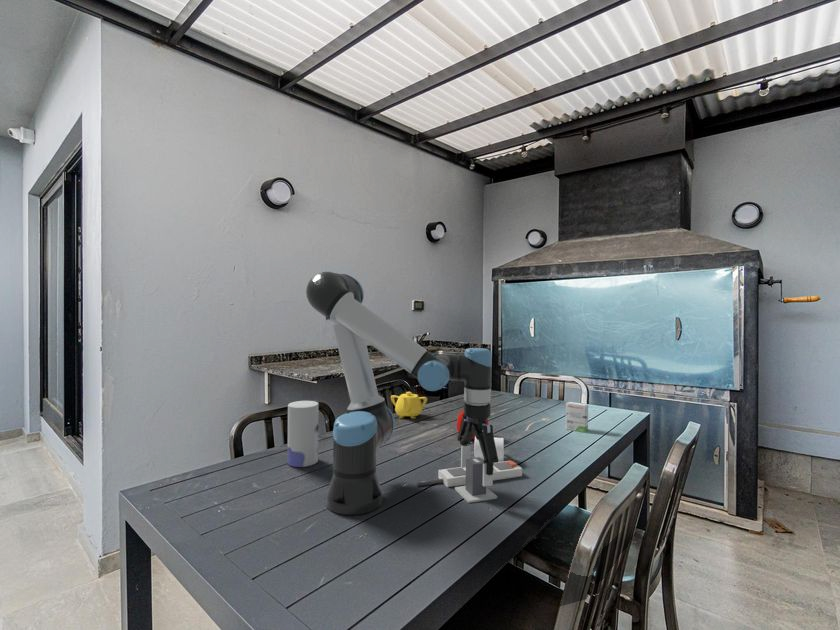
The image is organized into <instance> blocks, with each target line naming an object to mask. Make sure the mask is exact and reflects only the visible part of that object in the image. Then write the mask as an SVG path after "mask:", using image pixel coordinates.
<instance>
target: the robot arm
mask: <svg viewBox="0 0 840 630" xmlns="http://www.w3.org/2000/svg"><path fill="white" fill-rule="evenodd" d="M305 293H306V298H307V301H308V303H309V305H310V306H311V307H312V308H313V309H314V310H316V311H317V312H318V313H320V314H321V315H322V316H324V317H325V321H326V323H328V324H330V325H331V326H332V330H333V332H334V337H335V341H336V345H337V348H338V349H337V350H338V353H339V354H338V355H339V357H340V358H339V359H340V361H341V366H342V370H343V374H344V378H345V382H346V386H347V391H348V397H349V399H350V400H349V401H350V402H349V403H350V404H349V405H348V406H347V408H346V409H347V413H343V414H342V415H340V416H338V417H337V418H336V419H335V421H334V422H333V429H332V430H333V431H332V441H333V442H332V451H333V452H332V453H333V454H332V466H333V467H332V477H331V479H330V483H329V486H328V489H327V492H326V495H325V504H326V508H327V509H328V510H330V512H331V511H332V512H333V513H335V514H339V515H345V516H357V515H362V514H367V513H370V512H373V511H375V510H376V509H378V508H379V507H380V506H381V505H382V502H383V490H382V488H381V484H380V482H379V481H380V480H379V477H378V475H377V451H378V450H379V449H380V448H381V447H382V446H383V444H386V442H387V441H388V440H389V439H390V437H391V436H392V434H393V432H394V430H395V424H396V423H395V417H394V414H393V411H392V410H391V409H389V407H388V406H387V404H386V400H385V397H383V396H381V395H380V394H379V392H378V388H377V384H376V379H375V376H374V371H373V367H372V362H371V358H370V354H369V349H368V347H367V343H368V344H369V345H370V346H372V347H373V348H375V349H376V350H377V351H379V352H380V353H381V354H382V355H384V356H386V357H387V358H388V359H390V360H392V362H394V363H395V364H397V365H398V366H399V367H401V368H403V369H404V370H405V371H406V372H408V373H409V374H411V375H412V376H413V377H414V378H416V379H417V381H418V384H419V385H420V386H421V387H422V389H425V390H426V391H430V392H436V391H439V390H441V389H443V388H444V387H445V386H447V384H448V383H449V381H454V382H455V381H457V382H458V381H459V382H464V388H463V391H464V393H463V401H464V404H463V406H464V407H463V410H464V414H463V418H462V424H461V427H460V431H459V433H458V435H457V441H458V442H459V444H460V447H461V448H460V449H461V450H460V467H461V468H465V467H466V459H469V458H471V441H472V440H473V439H472V437H473V435H475V436H476V439H477V440H479V444H480V447H481V450H482V453H483V457H484V461H483V486H484V487H485V486H486V487H490V486H493V484H494V483H493V482H494V480H493V463H497V462H498V456H497V451H496V446H495V441H494V437H495V436H494V428H493V424H488V425H487V424H486V419H487V418H488V419H489V418H491V417H490V416H491V403H490V402H491V397H492V396H491V394H492V389H491V388H492V366H493V365H492V352H491V351H490V350H489V349H487V348H484V347H483V348H481V347H471V348H470V347H468V348H466V349H465V351H464V354H449V353H447V354H445V353H438V352H437V353H431V352H430V351H428V350H427V349H425V348H424V347H423V346H421V344H419V343H418V342H416V341H415V340H413V339H412V338H411V337H409V336H408V335H406V333H405V334H404V333H403V332H402V331H400V330H399V329H398V328H396V327H395V326H394V325H392V324H390V323H389V322H388V321H387V320H385V319H384V318H382V317H381V316H379V315H378V314H377V313H375V312H374V311H372V310H370V309H369V308H368V307H367V306H365V305H364V304H363V302H364V295H365V294H364V288H363V286H362V285H361V283H360V282H359V280H358V279H356V278H355V277H353V276H351V275H349V274H345V273H337V272H333V271H321V272H319V273H317V274H315V275H314V276H312V278H310V280H309V281H308V283H307V286H306V290H305Z"/></svg>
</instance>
